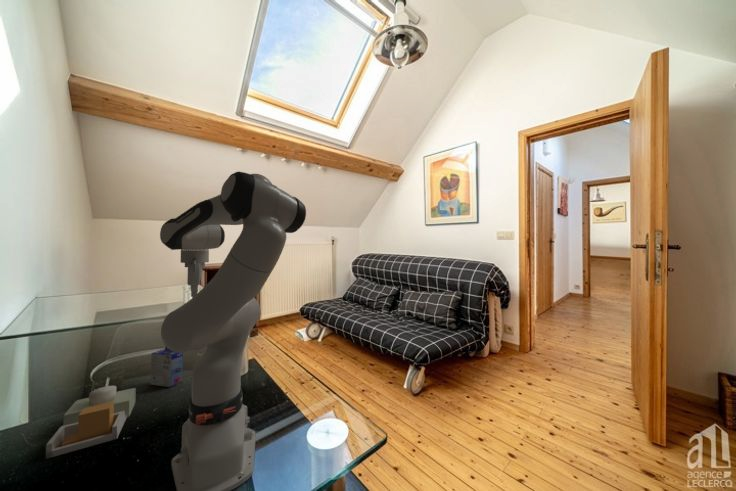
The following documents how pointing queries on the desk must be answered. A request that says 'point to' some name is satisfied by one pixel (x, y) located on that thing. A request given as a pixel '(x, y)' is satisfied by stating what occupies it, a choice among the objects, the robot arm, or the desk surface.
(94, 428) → the orange upright block
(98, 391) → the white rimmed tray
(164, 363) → the ink cartridge box
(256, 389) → the desk surface
